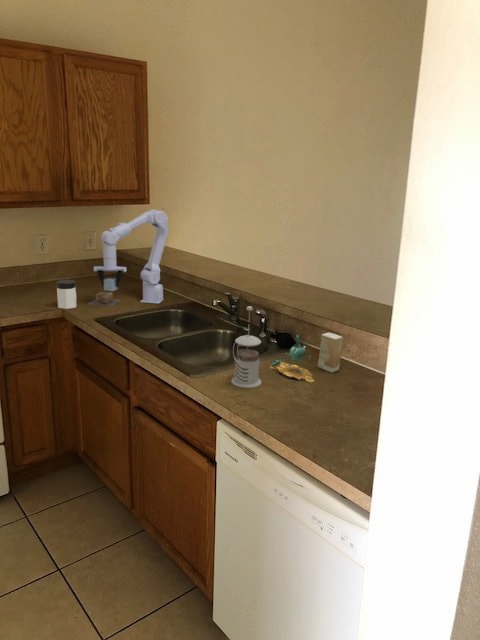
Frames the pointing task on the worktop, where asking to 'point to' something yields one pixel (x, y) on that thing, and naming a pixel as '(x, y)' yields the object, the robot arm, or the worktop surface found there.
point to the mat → (104, 304)
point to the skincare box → (330, 352)
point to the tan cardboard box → (104, 301)
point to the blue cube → (110, 284)
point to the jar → (66, 294)
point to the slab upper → (104, 295)
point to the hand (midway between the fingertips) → (110, 286)
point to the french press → (246, 361)
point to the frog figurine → (294, 370)
